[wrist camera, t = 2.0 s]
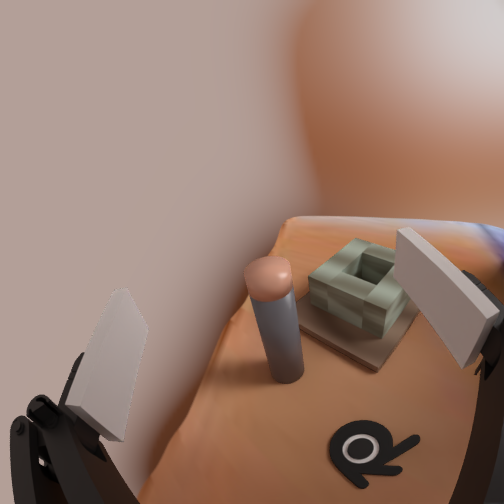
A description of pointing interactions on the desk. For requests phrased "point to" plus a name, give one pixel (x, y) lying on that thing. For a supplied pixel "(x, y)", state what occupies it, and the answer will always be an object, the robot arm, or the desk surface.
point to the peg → (276, 316)
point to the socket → (358, 304)
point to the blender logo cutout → (366, 450)
